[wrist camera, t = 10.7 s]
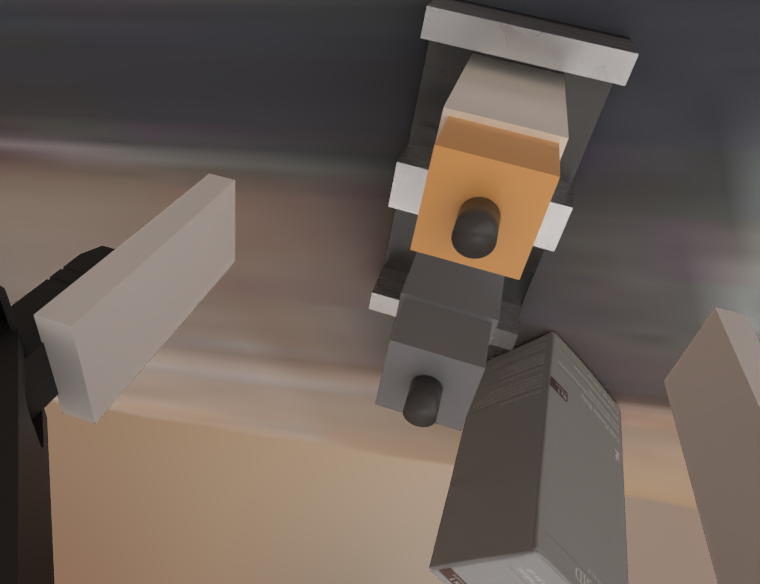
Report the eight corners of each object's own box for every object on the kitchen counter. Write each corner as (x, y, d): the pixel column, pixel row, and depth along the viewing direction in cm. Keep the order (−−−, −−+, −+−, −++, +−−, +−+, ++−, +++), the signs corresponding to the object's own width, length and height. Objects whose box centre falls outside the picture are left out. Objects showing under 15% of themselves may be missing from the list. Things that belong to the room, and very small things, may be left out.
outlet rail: (382, 278, 36) (368, 308, 33) (440, -5, 26) (426, 5, 23) (514, 315, 35) (511, 350, 32) (629, 37, 25) (638, 54, 22)
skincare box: (622, 405, 37) (657, 657, 25) (532, 437, 41) (524, 669, 29) (551, 322, 35) (551, 555, 22) (463, 364, 39) (422, 582, 26)
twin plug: (419, 267, 34) (359, 432, 24) (434, 205, 32) (375, 359, 21) (489, 287, 34) (459, 464, 23) (510, 225, 31) (489, 394, 20)
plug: (472, 53, 26) (418, 153, 16) (564, 74, 26) (573, 193, 15) (450, 140, 29) (392, 277, 18) (533, 161, 29) (522, 314, 18)
